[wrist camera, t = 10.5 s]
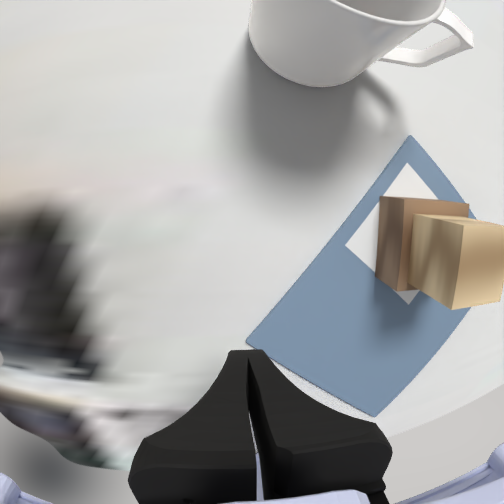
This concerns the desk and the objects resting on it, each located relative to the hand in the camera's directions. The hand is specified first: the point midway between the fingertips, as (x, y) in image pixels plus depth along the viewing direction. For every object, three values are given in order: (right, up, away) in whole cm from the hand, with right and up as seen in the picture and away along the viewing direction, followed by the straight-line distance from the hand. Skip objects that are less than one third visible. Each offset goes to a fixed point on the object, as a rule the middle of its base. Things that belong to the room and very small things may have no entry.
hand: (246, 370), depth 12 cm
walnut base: (+12, +6, +10) cm, 17 cm away
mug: (+6, +20, +7) cm, 22 cm away
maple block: (+13, +5, +6) cm, 15 cm away
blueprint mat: (+12, +1, +11) cm, 17 cm away
